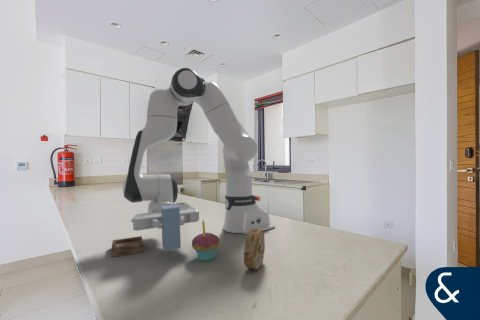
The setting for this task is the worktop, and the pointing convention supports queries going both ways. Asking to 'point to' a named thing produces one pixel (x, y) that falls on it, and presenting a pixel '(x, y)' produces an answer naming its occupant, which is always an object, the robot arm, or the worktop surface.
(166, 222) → the slate block
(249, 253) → the bagel
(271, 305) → the worktop surface
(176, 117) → the robot arm
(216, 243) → the cupcake
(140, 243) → the walnut base
